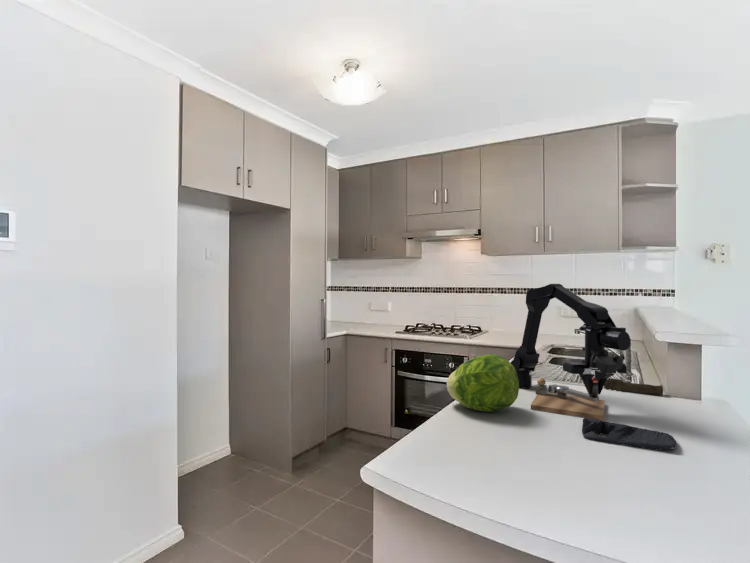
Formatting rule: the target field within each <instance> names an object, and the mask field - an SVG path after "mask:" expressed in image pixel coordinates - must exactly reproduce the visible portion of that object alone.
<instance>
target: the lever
mask: <svg viewBox="0 0 750 563" xmlns="http://www.w3.org/2000/svg"><path fill="white" fill-rule="evenodd" d="M598 386H599V381H598V379H597V378H595V376H594V377H593V378H592V394H591V395H590V394H588V392H583V391H579V390H575V389H573V388H569V386H567V385H566V386H565V385H559V384H549V385H548V393H553V394H557V392H558V393H566V395H568V396H575V397H579V398H583V399H586V400H590V401H593V402H595V401H599V400H600V396H599V394H598Z"/></svg>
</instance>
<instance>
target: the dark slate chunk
mask: <svg viewBox="0 0 750 563" xmlns="http://www.w3.org/2000/svg"><path fill="white" fill-rule="evenodd" d="M581 427H582V428H581V433H582V435H583V436H582V437H583V438H584V439H586V440H590V441H592V440H593V439H594V441H598V440H599V441H598V442H602V441H603V443H607V442H608V443H607V444H614V443H615V444H614V445H619V444H625V446H630V445H631V446H632V447H637V446H638V448H643V447H644V448H645V449H649V448H650V449H649V450H656V449H658V451H673V450H675V449H676V447H677V445H678V442H677V440H676V439H675V438H674V436H673V435H671V434H669V433H668V432H667V433H666V432H662V431H659V430H658V431H657V430H653V429H647V428H641V427H638V426H637V427H636V426H631V425H627V424H622V423H616V422H610V421H602V420H597V419H591V418H583V419H582V426H581ZM601 433H602V434H601ZM605 434H606V436H602V435H605ZM660 449H661V450H660Z"/></svg>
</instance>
